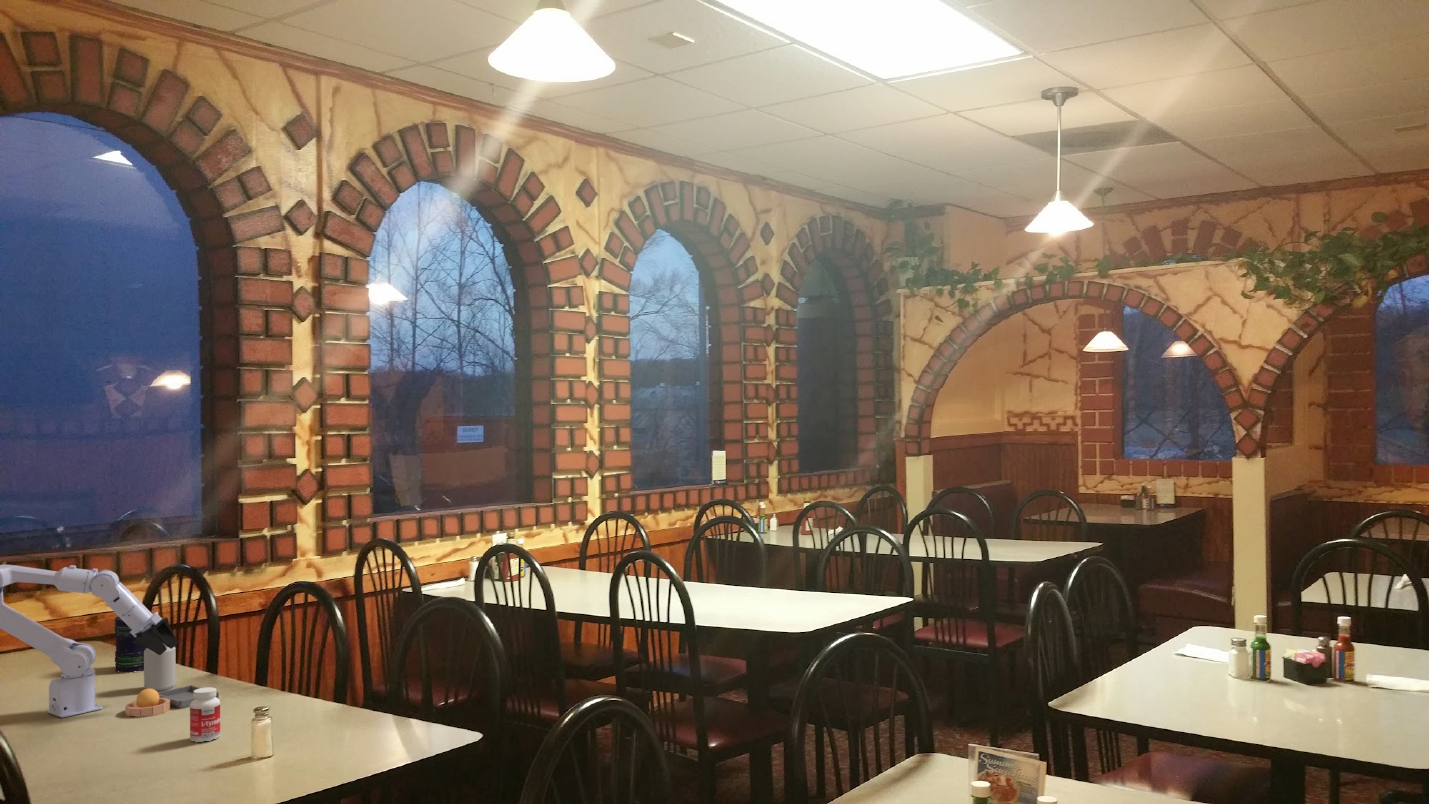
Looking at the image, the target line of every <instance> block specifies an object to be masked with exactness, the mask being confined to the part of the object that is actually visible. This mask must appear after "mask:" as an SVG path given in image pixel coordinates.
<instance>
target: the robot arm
mask: <svg viewBox="0 0 1429 804" xmlns="http://www.w3.org/2000/svg"><path fill="white" fill-rule="evenodd" d="M14 583H27V584H29V583H30V584H40V585H41V584H43V585H53V586H55V587H56V588H57V591H61V592H71V593H80V594H89V593H91V595H92V596H94V597H97V598H101V599H102V600H103V602H105V604H106V605H107V606H108V607H109V608H110V610H112V611H113V613H115V614H116V615H117V617H118V616H119V617H120V618H121V619H122V620H123V621H124V622H125V623H126V624H127V625H128V626H129V627H130V628H131V629H132V631H131V632H130V633H131V634H132V635H133V636H134V637H137V639H136V640H135V641H134V643H135V644H139V645H142V646H144V647H146V648H148V649H150V650H152V651H153V652H155V653H156V654H158V655H161V654H162V653H164V652H165V651H166V650H167V648H166V647H165V645H166V646H167V647H169V648H171V649H172V648H173V647H176V646H177V644H179V641H178V639H177V637H176V636H175V634H174V631H173V630H172V628H171V625H170V621H169V618H168V617H164V618H162V617H161V616H160V615H159V613H158V612H157V611H156V612H154V613H152V612H151V611H150V610H149V609H148V608H147V607H146V606H145V605H144V604H143V603H142V602H141V601H140V600H139V598H137V597H136V596H135V595H134V593H133V592H132V591H130V589H129V588H127V587H125V585H124V584H123V583H122V582H120V578H119V576H118V574H117V573H115V572H114V571H112V570H109V569H103V570H100V571H99V570H98V568H92V569H85V568H84V569H83V568H77V565H72V564H71V565H69V567H66V566H65V567H63V568H61V569H59V570H58V571H55V570H49V569H44V568H43V569H42V568H35V567H29V566H22V565H15V564H0V630H2V631H4V632H6V633H7V634H10V636H13V637H14V638H17V640H18V639H19V641H22V642H23V643H25V644H27V645H29V646H30V647H32V648H33V649H35V650H38V652H41V653H42V654H45V655H46V656H48V658H49V659H50V661H51V662H52V663H53V664H55V665H56V666H57V667H59V669H60V671H61V674H60V675H61V676H60V677H58V678H55V679H52V680H51V681H50V682H49V685H48V711H47V713H48V714H51V715H54V716H56V717H59V718H61V719H63V718H68V717H72V716H76V715H81V714H84V713H85V714H86V713H90V712H93V711H94V712H95V711H98V710H102V709H103V707H104V706H102V705H98V704H96V669H94V668H93V666H92V665H93V664H94V663H95V660H96V657H97V653H96V650H95V648H94V647H93V646H92V645H91V644H88V643H81V642H77V641H75V640H74V639H70V638H65V637H63V636H61V635H59V634H58V633H55V632H54V631H52V630H51V629H49V628H47V627H45V626H44V625H42V624H41V623H39V622H37V621H35V620H33V619H32V618H30V617H28V616H26V615H24V614H23V613H21V612H19V611H18V610H16V609H14V608H13V607H11V606H9V605H6V604H5V603H4V591H3V590H4V587H5V586H8V585H12V584H14ZM144 627H146V628H144ZM143 628H144V629H143ZM164 644H165V645H164Z"/></svg>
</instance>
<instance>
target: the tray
mask: <svg viewBox="0 0 1429 804" xmlns="http://www.w3.org/2000/svg"><path fill="white" fill-rule="evenodd" d="M200 688H202V687H200V686H197V685H193V684H191V685H186V686H182V687H177V688H176V687H175V688H171V689H168V690H164V691H157V692H158V694H159V698H167V699H170V707H173V708H176V709H179V710H181V709H184V708H185V707H186V708H189V707H188V706H190V704H191V702H192V701H193V700H195V698H194V696H193V694H194V690H196V689H200ZM219 696H220V695H219V692H218V691H216V696H215V697H216V698H218V699H219V700H220V697H219Z"/></svg>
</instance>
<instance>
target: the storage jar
mask: <svg viewBox="0 0 1429 804" xmlns="http://www.w3.org/2000/svg"><path fill="white" fill-rule="evenodd" d="M144 628H146V627H144ZM144 628H143V629H144ZM131 631H132V629H131V628H130V627H129V626H128V625H127V624H126V623H125V622H124V621H123V620H122V619H121V618H120V617H119V616H118V615H117V616H116V617H114V638H115V652H114V663H115V664H114V666H115V669H114V670H115V672H116V671H119V672H133V673H135V672H134V671H141V672H144V651H145V649H146V647H144V646H142V645H139V644H135V643H134V641H135V640H136V639H137V637H134V636H133V635H132V634H131V633H130V632H131Z"/></svg>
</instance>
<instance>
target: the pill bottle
mask: <svg viewBox="0 0 1429 804" xmlns="http://www.w3.org/2000/svg"><path fill="white" fill-rule="evenodd" d="M216 692H217V688H216V687H211V686H210V687H208V686H207V687H201V688H200V689H196V690H194V694H193V696H194V698H195V700H193V701H192V702H191V704H190V707H189V739H190V741H191V742H193V741H195V742H194V743H198V742H202V741H209V742H212V741H211V740H213V739H216V740H217V738H218V737H219V736H220V737H221V700H220V698H219V699H218V698H216V697H215V696H216ZM220 737H219V738H220ZM219 738H218V739H219ZM196 741H197V742H196ZM213 741H214V740H213ZM202 743H203V742H202Z"/></svg>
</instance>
